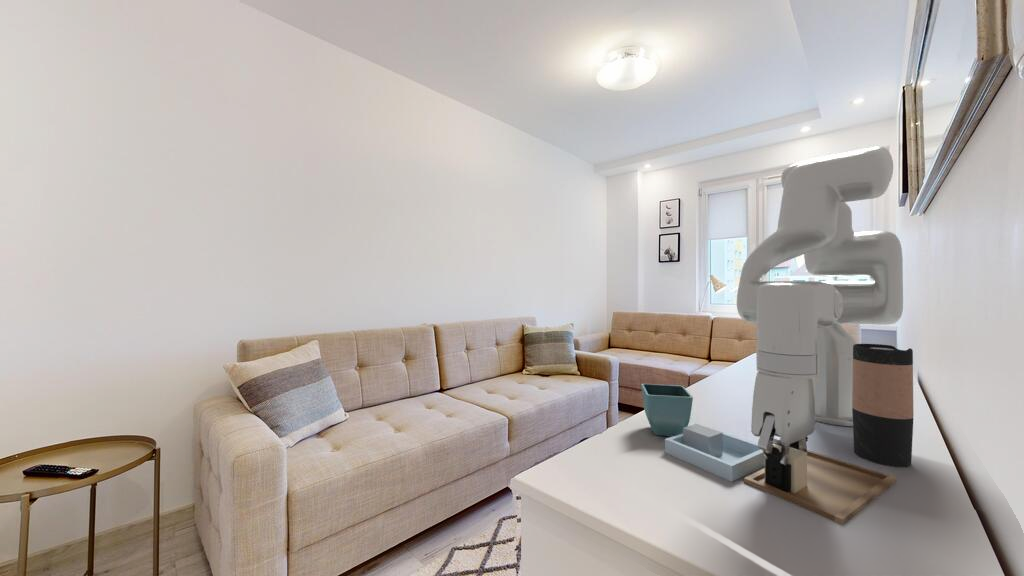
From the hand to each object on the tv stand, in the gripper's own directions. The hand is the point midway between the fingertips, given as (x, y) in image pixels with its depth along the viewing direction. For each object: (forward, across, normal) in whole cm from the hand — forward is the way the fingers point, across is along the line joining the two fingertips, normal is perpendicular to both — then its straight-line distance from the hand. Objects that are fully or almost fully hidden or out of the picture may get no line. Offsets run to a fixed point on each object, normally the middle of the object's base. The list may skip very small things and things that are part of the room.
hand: (785, 481), depth 58 cm
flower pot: (+1, -3, -24) cm, 24 cm away
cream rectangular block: (0, 0, 0) cm, 0 cm away
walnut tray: (+1, -5, +2) cm, 6 cm away
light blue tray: (+1, 0, -10) cm, 11 cm away
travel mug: (+1, -24, +4) cm, 24 cm away
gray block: (-2, +1, -16) cm, 16 cm away
